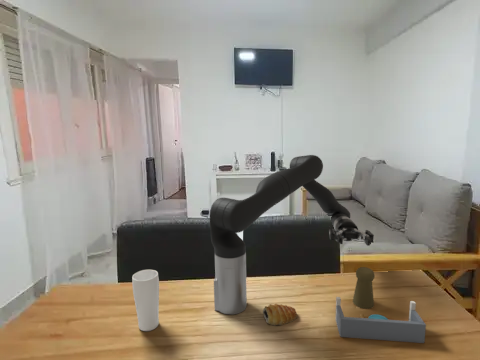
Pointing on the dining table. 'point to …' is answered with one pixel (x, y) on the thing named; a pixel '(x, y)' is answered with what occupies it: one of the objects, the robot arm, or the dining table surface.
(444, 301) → the dining table surface
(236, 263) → the robot arm
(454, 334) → the dining table surface
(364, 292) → the cork
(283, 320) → the pastry
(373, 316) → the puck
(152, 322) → the drinking glass
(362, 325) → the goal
